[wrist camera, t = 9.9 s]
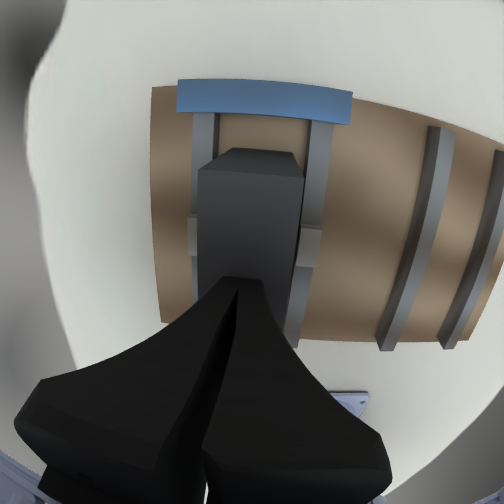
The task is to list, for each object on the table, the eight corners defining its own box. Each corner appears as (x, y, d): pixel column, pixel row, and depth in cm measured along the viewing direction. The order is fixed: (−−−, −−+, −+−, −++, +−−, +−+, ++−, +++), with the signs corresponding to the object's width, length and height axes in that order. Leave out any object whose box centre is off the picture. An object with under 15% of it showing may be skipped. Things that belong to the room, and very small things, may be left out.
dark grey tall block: (276, 289, 18) (273, 378, 11) (226, 284, 18) (201, 370, 12) (292, 152, 14) (304, 178, 8) (232, 147, 15) (197, 169, 8)
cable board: (464, 334, 19) (480, 360, 16) (164, 315, 20) (149, 345, 17) (522, 155, 13) (552, 165, 10) (157, 88, 14) (131, 83, 11)
